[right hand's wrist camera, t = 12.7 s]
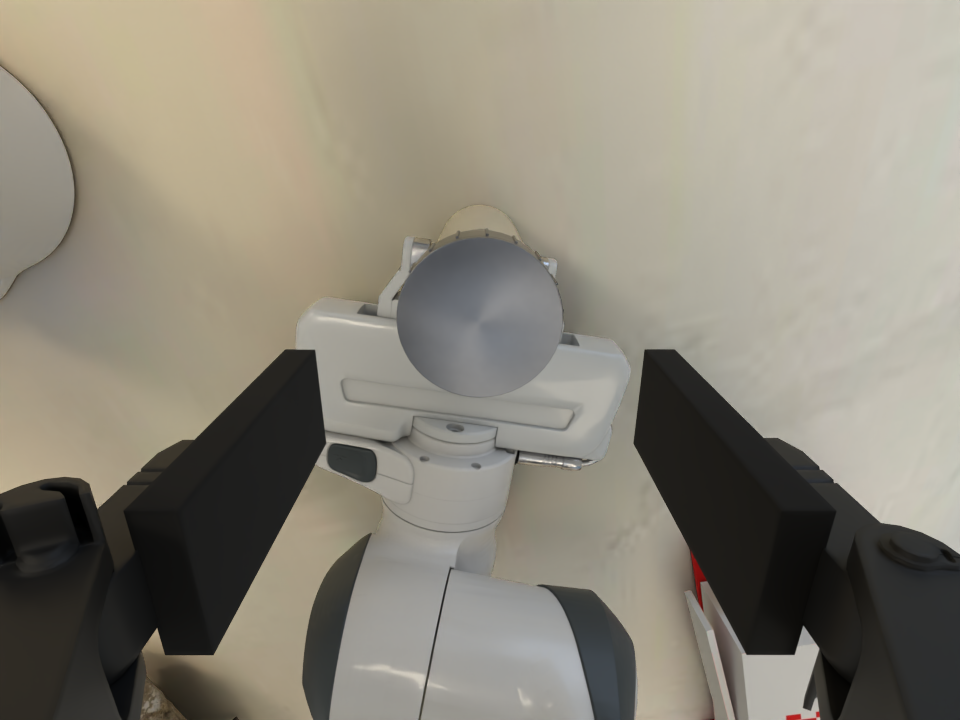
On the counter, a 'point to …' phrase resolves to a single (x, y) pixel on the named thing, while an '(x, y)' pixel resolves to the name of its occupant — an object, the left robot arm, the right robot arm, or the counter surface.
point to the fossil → (158, 705)
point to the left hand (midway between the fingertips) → (481, 248)
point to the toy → (748, 666)
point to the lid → (479, 314)
